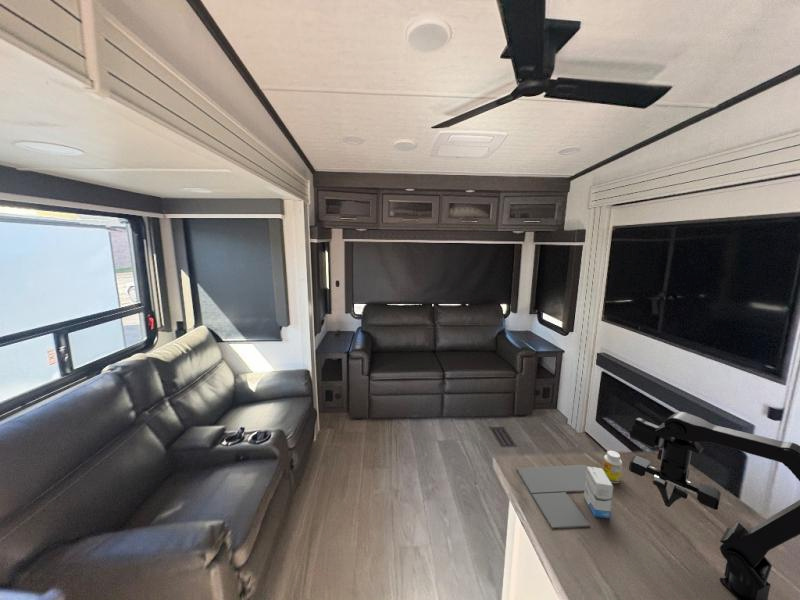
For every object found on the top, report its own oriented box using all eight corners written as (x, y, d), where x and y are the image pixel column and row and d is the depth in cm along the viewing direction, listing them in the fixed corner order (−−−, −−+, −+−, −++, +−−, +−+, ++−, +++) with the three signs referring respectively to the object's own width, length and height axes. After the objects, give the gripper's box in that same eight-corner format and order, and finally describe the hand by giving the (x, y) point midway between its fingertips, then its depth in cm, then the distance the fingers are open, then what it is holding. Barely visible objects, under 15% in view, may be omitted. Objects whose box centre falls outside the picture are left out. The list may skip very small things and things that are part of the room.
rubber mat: (639, 524, 95) (640, 522, 95) (551, 528, 94) (552, 527, 94) (585, 466, 121) (586, 464, 121) (516, 469, 119) (516, 467, 119)
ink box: (610, 519, 97) (614, 486, 95) (593, 516, 98) (596, 484, 96) (599, 498, 105) (602, 467, 103) (583, 495, 106) (586, 465, 104)
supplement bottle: (600, 471, 117) (602, 447, 116) (617, 475, 116) (620, 450, 114) (604, 482, 112) (606, 456, 111) (622, 485, 110) (625, 460, 109)
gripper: (726, 461, 83) (716, 511, 85) (641, 430, 97) (635, 474, 100) (723, 482, 76) (712, 535, 78) (631, 445, 90) (625, 491, 92)
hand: (667, 505), depth 87 cm, fingers closed
